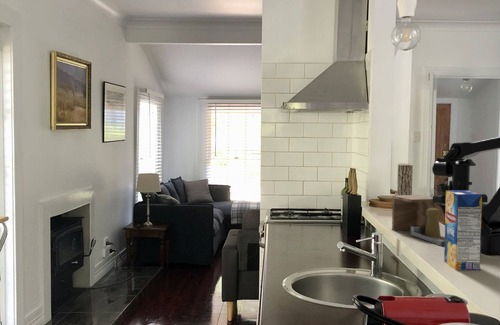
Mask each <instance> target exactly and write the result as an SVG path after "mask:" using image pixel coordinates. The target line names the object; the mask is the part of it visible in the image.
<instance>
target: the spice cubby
mask: <svg viewBox="0 0 500 325" xmlns="http://www.w3.org/2000/svg"><path fill="white" fill-rule="evenodd" d="M391 205H392V210H391V211H392V212H391V215H392V216H391V217H392V219H391V220H392V221H391V230H392V231H405V230H407V231H408V230H409V231H411V226H416V225H426V222H427V216H426V210H427V209H429V208H436V209H438V210H439V205H437V204H436V203H435V202H433V197H429V196H425V195H419V194H412V195H401V196H397V195H392V204H391Z"/></svg>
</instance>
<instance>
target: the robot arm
mask: <svg viewBox="0 0 500 325" xmlns="http://www.w3.org/2000/svg"><path fill="white" fill-rule="evenodd" d="M497 150H500V136H497V137H491V138H489V139H483V140H482V139H481V140H479V141H473V142H472V141H471V142H469V141H467V142H462V141H461V142H453V143H452V144H451V146H450V148H449V149H448V152H447V153H446V154H445V156H444V157H436V161H435V162H434V163H433V164H432V165H433V166H432V167H431V168H432V170H431V171H432V173H433V175H434V176H435V177H440V178H441V177H442V178H451V180H449V182H448V185H445V184H444V183H439V184H437V187H436V188H437V189H436V191H437V193H434V195H433V196H432V198H433V202H435V203H436V204H437V205H438V207H440V208H441V211H442V213H443V216H444V217H445V209H446V190H463V191H470V186H472V185H473V182H472V181H471V180H470V178H471V177H470V176H471V167H475V166H476V164H477V163H475V162H474V161H473V160H472V158H474V157H476V156H477V155H479V154H481V153H485V152H486V153H487V152H491V151H497ZM496 190H497V191H495V193H494V195H493V196H492V197H491V199H490V200H489V198H488V196H487V194H486V193H479V192H478V193H479V194H482V214H481V251H480V254H484V255H487V256H494V255H495V256H496V255H500V186H499V188H498V189H496ZM488 201H489V202H488Z"/></svg>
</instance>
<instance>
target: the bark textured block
mask: <svg viewBox="0 0 500 325" xmlns="http://www.w3.org/2000/svg"><path fill="white" fill-rule="evenodd" d="M413 167H414V166H413V163H402V162H401V163H397V181H396V182H397V183H396V184H397V189H396V192H397V193H396V196H401V195H413V172H414V171H413V170H414V169H413Z"/></svg>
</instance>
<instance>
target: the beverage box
mask: <svg viewBox="0 0 500 325" xmlns="http://www.w3.org/2000/svg"><path fill="white" fill-rule="evenodd" d="M482 194H483V193H481V194H479V192H475V191H471V190H469V191H463V190H446V209H445V216H444V220H445V221H444V241H445V246H444V253H443V255H444V256H443V258H444V259H443V260H444V263H446V264H447V265H448V266H450V268H452V269H454V270H455V271H481V252H480V251H481V214H482Z"/></svg>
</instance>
